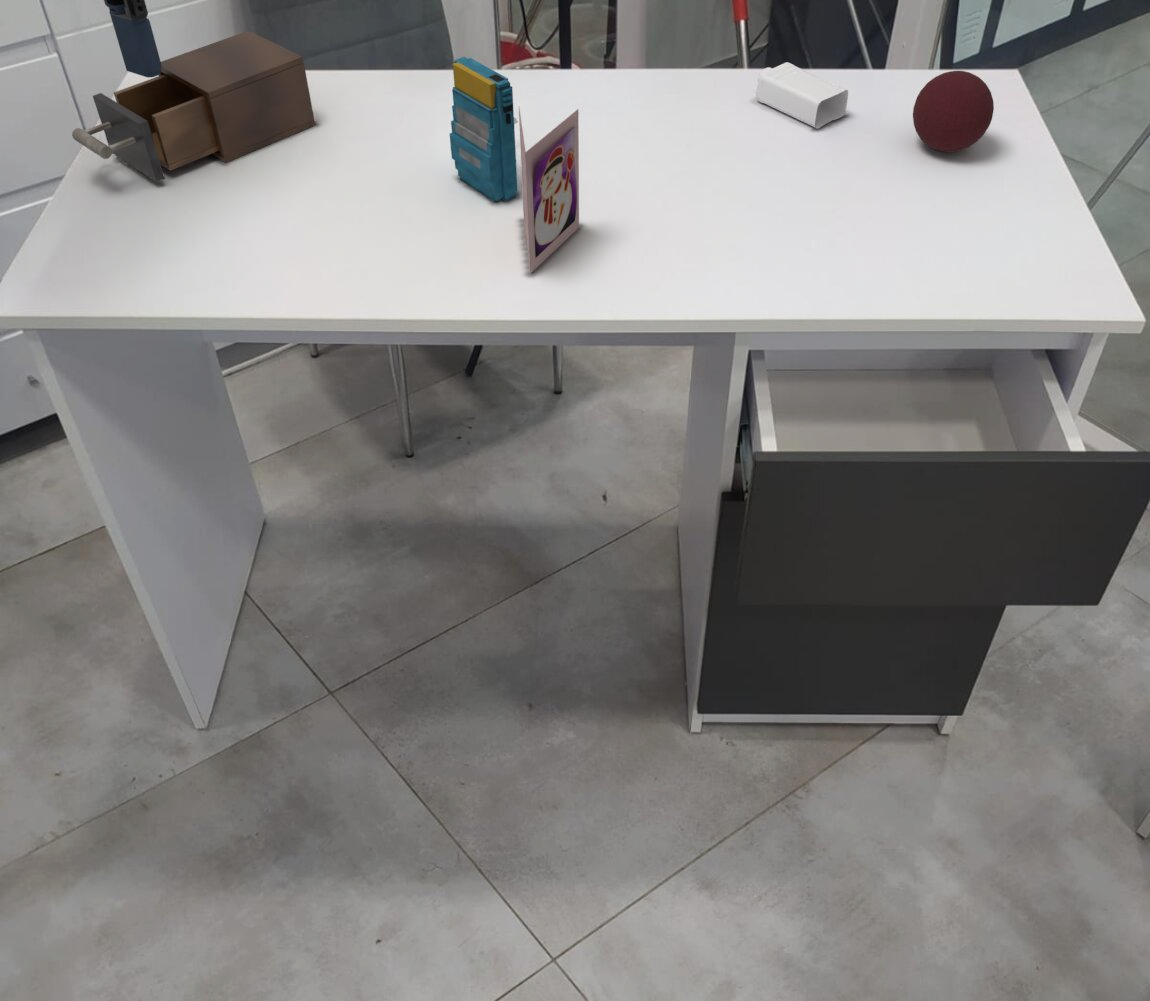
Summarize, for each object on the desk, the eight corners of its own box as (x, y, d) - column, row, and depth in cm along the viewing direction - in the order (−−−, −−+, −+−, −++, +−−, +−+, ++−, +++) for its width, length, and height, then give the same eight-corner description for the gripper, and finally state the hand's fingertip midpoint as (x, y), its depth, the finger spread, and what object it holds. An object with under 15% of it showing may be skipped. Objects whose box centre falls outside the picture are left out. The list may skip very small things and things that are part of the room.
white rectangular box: (777, 85, 162) (780, 56, 159) (845, 116, 155) (850, 86, 152) (746, 98, 159) (748, 69, 156) (813, 130, 152) (818, 100, 149)
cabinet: (225, 163, 147) (208, 92, 140) (174, 132, 153) (154, 63, 146) (315, 125, 154) (302, 56, 147) (262, 97, 160) (248, 30, 154)
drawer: (121, 196, 139) (102, 138, 134) (76, 166, 145) (55, 108, 139) (246, 144, 148) (232, 88, 143) (198, 117, 154) (184, 62, 149)
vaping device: (137, 62, 141) (109, -37, 132) (167, 72, 139) (140, -28, 130) (121, 70, 139) (92, -30, 131) (152, 80, 137) (123, -21, 129)
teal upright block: (521, 196, 140) (516, 80, 130) (495, 207, 138) (487, 91, 128) (476, 167, 145) (467, 54, 135) (450, 177, 144) (439, 63, 133)
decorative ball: (994, 143, 149) (1014, 70, 142) (964, 173, 143) (984, 99, 136) (924, 123, 153) (941, 51, 146) (893, 151, 148) (908, 78, 141)
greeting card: (537, 275, 128) (532, 154, 117) (482, 258, 130) (473, 138, 120) (585, 228, 135) (585, 110, 124) (532, 213, 137) (528, 96, 127)
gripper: (19, -152, 124) (69, 5, 136) (83, -125, 117) (130, 38, 129) (81, -166, 127) (124, -12, 139) (147, -141, 120) (187, 19, 132)
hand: (127, 11), depth 134 cm, fingers closed on vaping device, 5 cm apart
